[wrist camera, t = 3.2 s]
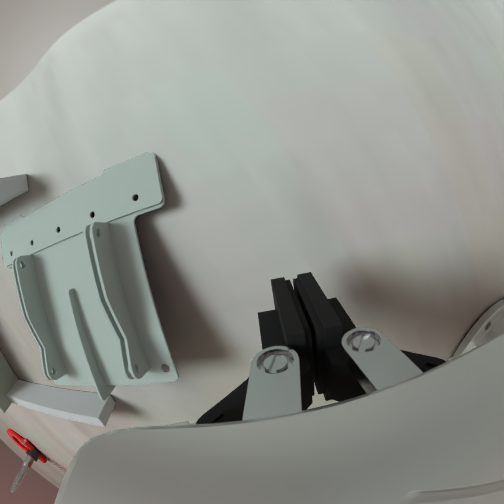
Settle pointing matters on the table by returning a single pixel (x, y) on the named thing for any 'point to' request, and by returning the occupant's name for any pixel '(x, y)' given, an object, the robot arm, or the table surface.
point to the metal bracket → (92, 281)
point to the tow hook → (31, 456)
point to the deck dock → (40, 396)
